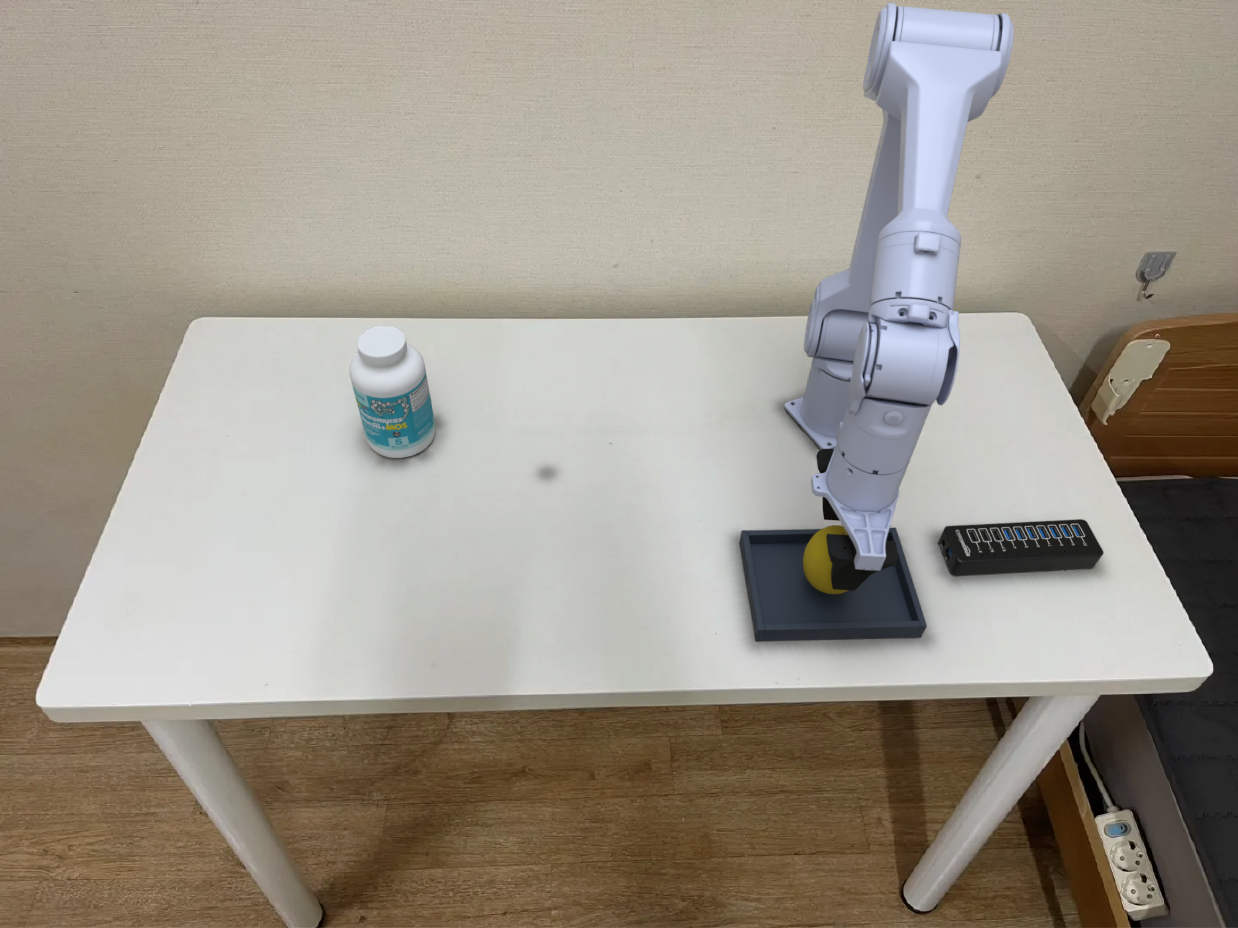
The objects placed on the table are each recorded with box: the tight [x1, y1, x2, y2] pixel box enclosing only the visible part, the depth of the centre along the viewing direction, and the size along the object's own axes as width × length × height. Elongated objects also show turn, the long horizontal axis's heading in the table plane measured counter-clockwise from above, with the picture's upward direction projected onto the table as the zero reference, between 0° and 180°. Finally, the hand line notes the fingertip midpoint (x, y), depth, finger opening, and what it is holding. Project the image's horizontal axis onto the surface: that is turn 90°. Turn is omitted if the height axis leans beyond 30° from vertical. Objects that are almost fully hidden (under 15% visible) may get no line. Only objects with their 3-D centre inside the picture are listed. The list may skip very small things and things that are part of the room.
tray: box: [738, 527, 928, 643], centre depth 83 cm, size 15×11×2 cm
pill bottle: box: [348, 325, 436, 459], centre depth 91 cm, size 8×7×14 cm
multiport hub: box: [937, 518, 1105, 577], centre depth 86 cm, size 4×14×2 cm, turn 95°
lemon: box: [803, 524, 849, 594], centre depth 81 cm, size 6×6×8 cm
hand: (838, 551), depth 80 cm, fingers open, 7 cm apart
